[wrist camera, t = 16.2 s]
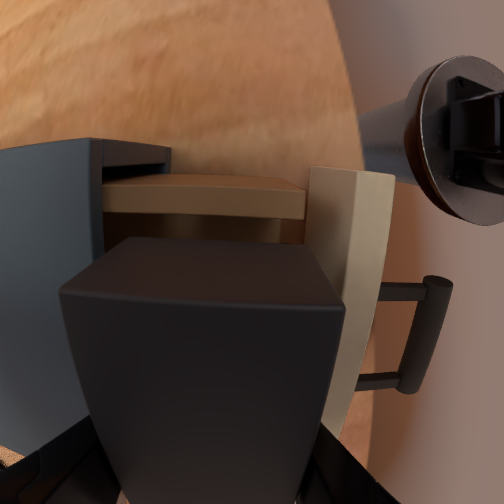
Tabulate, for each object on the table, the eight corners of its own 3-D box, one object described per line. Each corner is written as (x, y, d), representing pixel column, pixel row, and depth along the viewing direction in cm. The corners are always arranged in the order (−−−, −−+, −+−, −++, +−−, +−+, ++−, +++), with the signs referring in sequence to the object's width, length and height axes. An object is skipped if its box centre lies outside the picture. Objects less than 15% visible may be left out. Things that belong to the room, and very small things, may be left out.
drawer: (418, 179, 15) (507, 196, 8) (373, 391, 18) (408, 468, 12) (84, 161, 14) (-5, 170, 8) (108, 379, 18) (67, 454, 11)
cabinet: (171, 147, 15) (90, 137, 7) (178, 387, 19) (149, 495, 11) (-14, 163, 15) (-112, 179, 6) (17, 355, 19) (-43, 421, 10)
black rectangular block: (308, 243, 8) (349, 306, 4) (274, 474, 10) (278, 546, 7) (128, 235, 8) (54, 288, 4) (162, 466, 10) (146, 535, 7)
